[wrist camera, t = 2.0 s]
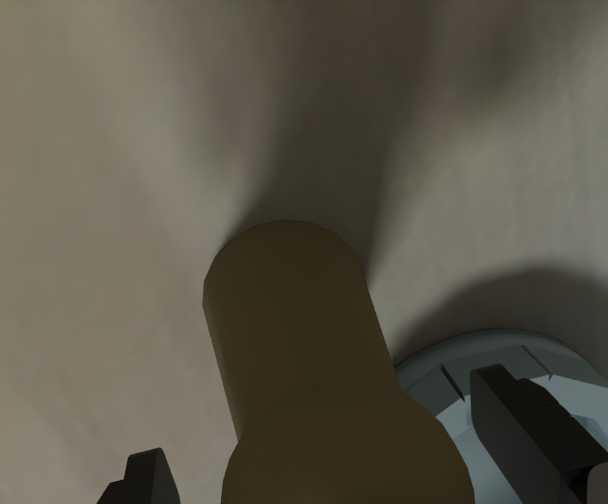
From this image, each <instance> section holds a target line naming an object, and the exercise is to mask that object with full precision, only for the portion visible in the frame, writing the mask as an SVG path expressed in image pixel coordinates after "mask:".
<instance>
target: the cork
mask: <svg viewBox="0 0 608 504" xmlns="http://www.w3.org/2000/svg"><path fill="white" fill-rule="evenodd" d="M202 306H203V310H204V313H205V317H206V321H207V325H208V329H209V333H210V336H211V340H212V344H213V348H214V352H215V355H216V359H217V363H218V367H219V371H220V374H221V378H222V382H223V386H224V390H225V393H226V397H227V401H228V405H229V409H230V413H231V416H232V420H233V424H234V428H235V432H236V435H237V439H238V444H237V446H236V447H235V449H234V451H233V453H232V455H231V457H230V459H229V462H228V465H227V469H226V473H225V476H224V480H223V486H222V496H221V504H475V493H474V488H473V485H472V481H471V477H470V474H469V470H468V467H467V465H466V463H465V462H464V460H463V458H462V456H461V454H460V452H459V451H458V449H457V447H456V445H455V443H454V442H453V440H452V438H451V437H450V435H449V434H448V432H447V430H446V429H445V427H444V426H443V424H442V423H441V422H440V421H439V420H438V419H437V418H436V417H435V416H434V415H432V414H431V413H430V412H429V411H428V410H427V409H426V408H424V407H423V406H422V405H421V404H419V403H418V402H417V401H415V400H414V399H413V398H411V397H410V396H409V395H408V394H406V393H405V392H404V391H402V390H401V389H400V386H399V382H398V379H397V376H396V373H395V370H394V367H393V364H392V361H391V358H390V355H389V352H388V349H387V346H386V343H385V340H384V337H383V334H382V331H381V328H380V324H379V321H378V318H377V315H376V312H375V309H374V306H373V303H372V300H371V297H370V294H369V291H368V288H367V285H366V282H365V279H364V276H363V273H362V270H361V267H360V265H359V263H358V261H357V260H356V258H355V256H354V254H353V252H352V250H351V248H350V247H349V246H348V245H347V244H345V243H344V242H343V241H342V240H341V239H340V238H339V237H337V236H336V235H335V234H334V233H333V232H331V231H329V230H326V229H324V228H322V227H319V226H317V225H314V224H312V223H309V222H298V221H285V220H281V221H277V222H272V223H268V224H264V225H259V226H255V227H254V228H252V229H250V230H248V231H247V232H245V233H243V234H241V235H240V236H238V237H236V238H234V239H232V240H231V241H230V243H229V244H228V245H227V246H226V247H225V248H224V249H223V250H222V251H221V252H220V253H219V254H218V255H217V257H216V258H215V259H214V261H213V263H212V265H211V267H210V270H209V272H208V274H207V276H206V278H205V281H204V289H203V303H202Z"/></svg>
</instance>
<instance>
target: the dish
mask: <svg viewBox="0 0 608 504" xmlns="http://www.w3.org/2000/svg"><path fill="white" fill-rule="evenodd" d="M497 363H500V364H502V365H503V366H504V367H505V368H506V369H507V370H508V371H509V372H510V374H511V375H512V376H513V377H514V378H515V379H516V380H518V379H522V378H527V379H529V380H531V381H533V382H535V383H537V384H539V385H540V386H542V387H544V388H546V389H547V390H548V391H549V392H550V393H551V395H552V396H553V397H554V398H555V399H556V400H557V401H558V402H559V404H560V405H562V406H563V407H564V408H565V409H566V410H567V411H568V412H569V413H570V414H571V417H574V418H575V419H576V420H577V421H578V422H579V423H580V424H581V425H582V426H583V427H584V428H585V429H586V430H587V431H588V432H589V433H590V434H591V435H592V436H593V437H594V439H595V440H596V441H597V442H598V443H599V444H600V445H601V446H602V447H603V448H604V449H605V450H606V451H607V452H608V380H607V379H606V378H605V377H603V376H602V375H601V374H600V373H599V372H598V371H597V370H596V369H595V368H593V367H592V366H591V365H590V364H589V363H588V362H586V361H585V360H584V359H583V358H582V357H581V356H580V355H578V354H577V353H576V352H575V351H574V350H572V349H571V348H570V347H569V346H567V345H566V344H564V343H562V342H560V341H559V340H557V339H555V338H553V337H550V336H547V335H544V334H541V333H538V332H533V331H528V330H523V329H509V328H501V329H486V330H480V331H475V332H469V333H465V334H461V335H458V336H455V337H451V338H448V339H445V340H443V341H441V342H438V343H436V344H433V345H431V346H429V347H427V348H425V349H423V350H421V351H419V352H417V353H416V354H414V355H412V356H410V357H408V358H407V359H406V360H404V361H403V362H401V363H400V364H398V365H397V366H395V367H394V370H395V373H396V376H397V379H398V382H399V386H400V389H401V390H402V391H404V392H405V393H406V394H408V395H409V396H410V397H411V398H413V399H414V400H415V401H417V402H418V403H419V404H421V405H422V406H423V407H424V408H426V409H427V410H428V411H429V412H430V413H431V414H432V415H434V416H435V417H436V418H437V419H438V420H439V421H440V422H441V423H442V424H443V426H444V427H445V429H446V430H447V432H448V434H449V435H450V437H451V438H452V440H453V442H454V443H455V445H456V447H457V449H458V451H459V452H460V454H461V456H462V458H463V460H464V462H465V463H466V465H467V467H468V470H469V474H470V477H471V481H472V485H473V488H474V493H475V504H523V503H522V502H521V500H520V499H519V497H518V496H517V494H516V493H515V491H514V490H513V488H512V487H511V485H510V484H509V482H508V481H507V480H506V478H505V477H504V475H503V474H502V472H501V471H500V469H499V468H498V466H497V465H496V463H495V462H494V461H493V459H492V458H491V456H490V455H489V453H488V452H487V450H486V449H485V447H484V446H483V444H482V443H481V442H480V440H479V438H478V436H477V434H476V432H475V429H474V426H473V423H472V418H471V400H470V371H471V370H473V369H477V368H481V367H485V366H489V365H493V364H497Z"/></svg>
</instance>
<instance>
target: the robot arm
mask: <svg viewBox="0 0 608 504" xmlns="http://www.w3.org/2000/svg"><path fill="white" fill-rule="evenodd" d="M470 400H471V418H472V423H473V426H474V429H475V432H476V434H477V436H478V438H479V440H480V442H481V443H482V444H483V446H484V447H485V449H486V450H487V452H488V453H489V455H490V456H491V458H492V459H493V461H494V462H495V463H496V465H497V466H498V468H499V469H500V471H501V472H502V474H503V475H504V477H505V478H506V480H507V481H508V482H509V484H510V485H511V487H512V488H513V490H514V491H515V493H516V494H517V496H518V497H519V499H520V500H521V502H522V503H523V504H608V452H607V451H606V450H605V449H604V448H603V447H602V446H601V445H600V444H599V443H598V442H597V441H596V440H595V439H594V437H593V436H592V435H591V434H590V433H589V432H588V431H587V430H586V429H585V428H584V427H583V426H582V425H581V424H580V423H579V422H578V421H577V420H576V419H575V418H574V417H571V414H570V413H569V412H568V411H567V410H566V409H565V408H564V407H563V406H562V405H560V404H559V402H558V401H557V400H556V399H555V398H554V397H553V396H552V395H551V393H550V392H549V391H548V390H547V389H546V388H544V387H542V386H540V385H539V384H537V383H535V382H533V381H531V380H529V379H527V378H522V379H518V380H516V379H515V378H514V377H513V376H512V375H511V374H510V372H509V371H508V370H507V369H506V368H505V367H504V366H503V365H502V364H500V363H497V364H493V365H489V366H485V367H481V368H477V369H473V370H471V371H470ZM97 504H181V503H180V498H179V494H178V490H177V487H176V485H175V482H174V479H173V476H172V474H171V471H170V468H169V465H168V462H167V460H166V457H165V454H164V452H163V450H162V448H156V449H152V450H148V451H144V452H140V453H136V454H132V455H130V456H129V457H128V460H127V465H126V470H125V476H124V479H123V480H119V481H115V482H111V483H110V484H109V485H108V487H107V488H106V490H105V491H104V493H103V494H102V496H101V497H100V499H99V500H98V502H97Z"/></svg>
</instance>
